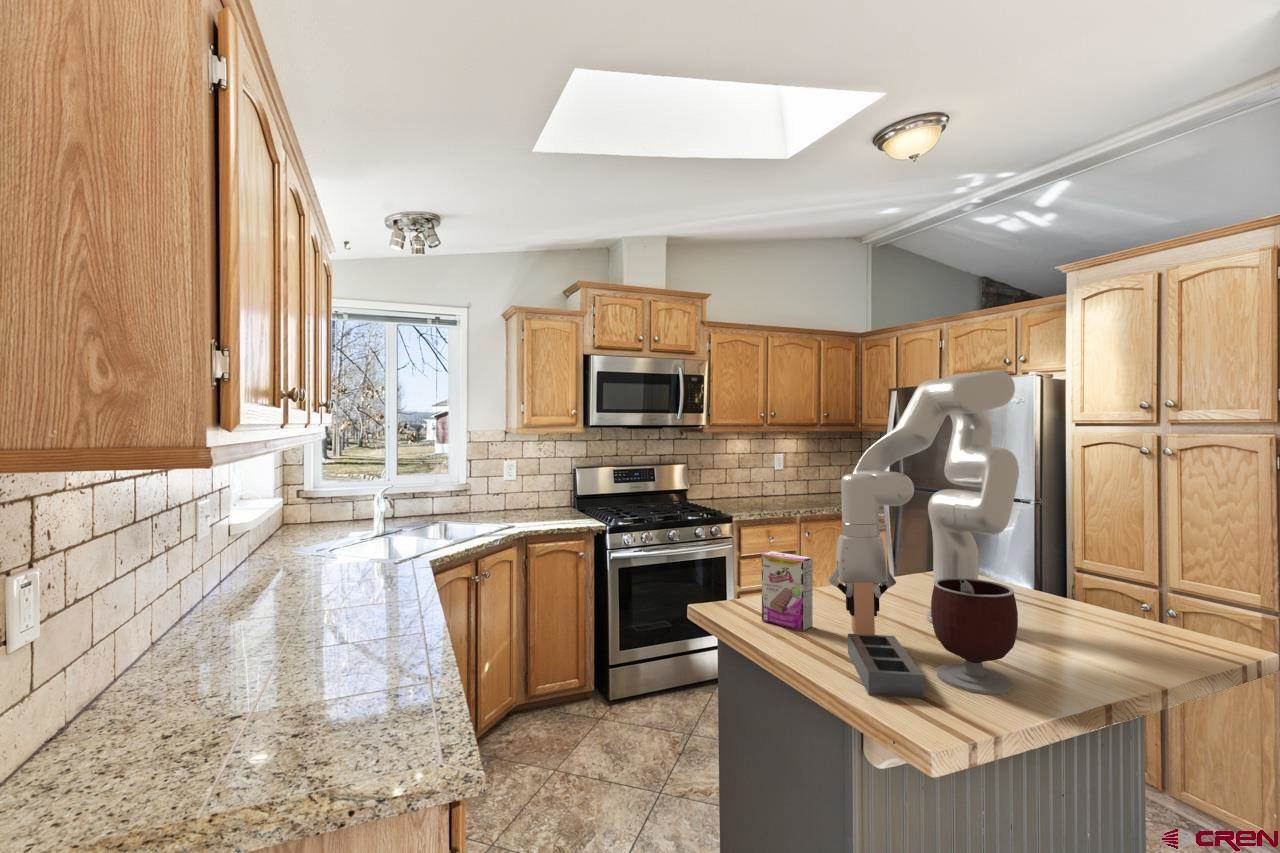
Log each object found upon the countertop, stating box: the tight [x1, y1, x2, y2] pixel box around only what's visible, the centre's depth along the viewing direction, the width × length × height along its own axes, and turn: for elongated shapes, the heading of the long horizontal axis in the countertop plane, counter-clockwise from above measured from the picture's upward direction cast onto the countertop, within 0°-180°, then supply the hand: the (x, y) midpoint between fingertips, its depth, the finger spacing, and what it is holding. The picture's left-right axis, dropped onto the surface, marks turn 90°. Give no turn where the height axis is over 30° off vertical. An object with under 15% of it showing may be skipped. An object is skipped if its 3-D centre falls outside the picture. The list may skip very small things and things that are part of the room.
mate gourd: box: [930, 578, 1019, 696], centre depth 109 cm, size 16×14×20 cm
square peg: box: [851, 582, 876, 635], centre depth 130 cm, size 4×4×13 cm
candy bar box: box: [761, 550, 813, 632], centre depth 142 cm, size 11×5×16 cm, turn 47°
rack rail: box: [847, 633, 925, 700], centre depth 112 cm, size 9×20×4 cm, turn 171°
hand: (862, 613), depth 130 cm, fingers closed on square peg, 4 cm apart
